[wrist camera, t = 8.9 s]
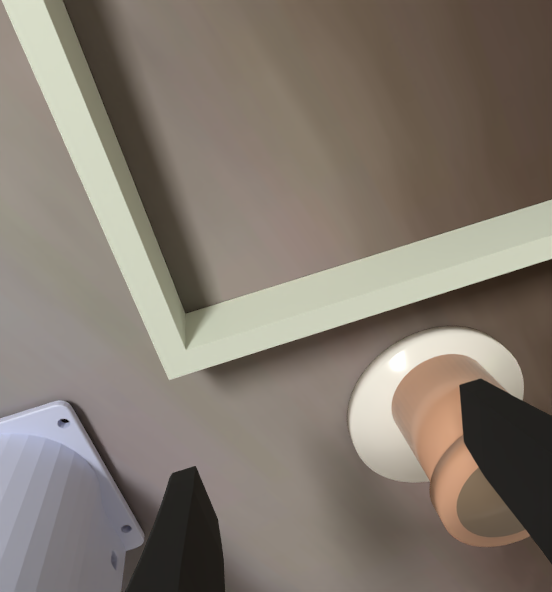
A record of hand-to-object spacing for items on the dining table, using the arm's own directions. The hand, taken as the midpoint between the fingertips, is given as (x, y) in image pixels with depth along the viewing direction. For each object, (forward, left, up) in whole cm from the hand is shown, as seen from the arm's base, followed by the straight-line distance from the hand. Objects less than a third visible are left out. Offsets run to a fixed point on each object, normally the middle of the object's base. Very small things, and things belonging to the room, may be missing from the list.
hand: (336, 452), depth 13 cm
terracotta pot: (-7, -6, -9) cm, 13 cm away
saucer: (-8, -6, -9) cm, 14 cm away
